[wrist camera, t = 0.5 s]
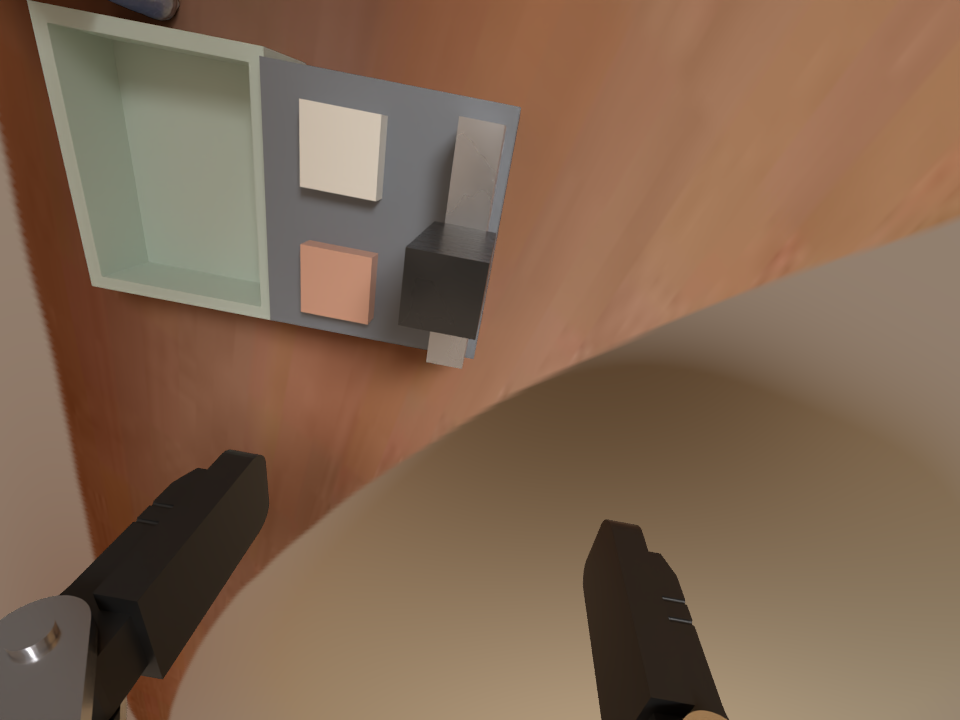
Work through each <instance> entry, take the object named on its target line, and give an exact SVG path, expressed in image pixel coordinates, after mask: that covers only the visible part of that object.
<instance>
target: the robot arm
mask: <svg viewBox="0 0 960 720" xmlns="http://www.w3.org/2000/svg"><path fill="white" fill-rule="evenodd" d="M268 508H269V495H268V483H267V472H266V461H265V458H264V456H262V455H258V454H252V453H247V452H241V451H236V450H227V451H225V452H224V453H222V454H221V455H220V457H219V458H218V459H217V460H216V461H215V462H214V463H213V464H212V465H211V466H210V467H209V468H208V469H207V470H206V469H201V468H197V469H195V470H193V471H191V472H190V473H188V474H186V475H184V476H183V477H181V478H179V479H178V480H176V481H174V482H172V483H171V484H170V485H169V486H168V487H167V488H166V489H165V490H164V491H163V492H162V493H161V494H160V495H159V496H158V497H157V498H156V499H155V500H154V501H153V505H152V506H149V507H148V508H147V509H146V510H145V511H144V512H143V513H142V514H141V515H140V516H139V517H138V518H137V521H136V522H133V523H132V524H131V525H130V526H129V527H128V528H127V529H126V530H125V531H124V532H123V533H122V534H121V535H120V536H119V537H118V538H117V539H116V540H115V541H114V542H113V543H112V544H111V545H110V546H109V547H108V548H107V549H106V550H105V551H104V552H103V553H102V554H101V555H100V556H99V557H98V558H97V559H96V560H95V561H94V562H93V563H92V564H91V565H90V566H89V567H88V568H87V569H86V570H85V571H84V572H83V573H82V574H81V575H80V576H79V577H78V578H77V579H76V580H75V581H74V582H73V583H72V584H71V585H70V586H69V587H68V588H67V589H66V590H65V591H63V592H62V593H61V594H60V595H58V596H52V597H48V598H44V599H40V600H37V601H34V602H32V603H29V604H27V605H25V606H23V607H20V608H19V609H17V610H15V611H13V612H12V613H10V614H8V615H7V616H6V617H4V618H2V619H1V620H0V720H126V719H127V697H126V696H127V694H128V693H129V692H130V690H131V689H132V687H133V686H134V684H135V683H136V682H137V680H138V679H139V677H140V676H141V675H142V676H147V677H153V678H158V679H163V678H164V677H165V675H166V674H167V672H168V671H169V669H170V667H171V666H172V664H173V663H174V661H175V660H176V658H177V657H178V655H179V654H180V652H181V651H182V649H183V648H184V646H185V645H186V643H187V641H188V640H189V638H190V637H191V635H192V634H193V632H194V631H195V629H196V628H197V626H198V625H199V623H200V622H201V620H202V619H203V617H204V615H205V614H206V612H207V611H208V609H209V608H210V606H211V605H212V603H213V602H214V600H215V599H216V597H217V596H218V594H219V593H220V591H221V589H222V588H223V586H224V585H225V583H226V582H227V580H228V579H229V577H230V576H231V574H232V573H233V571H234V570H235V568H236V566H237V565H238V563H239V562H240V560H241V559H242V557H243V556H244V554H245V553H246V551H247V550H248V548H249V547H250V545H251V544H252V542H253V540H254V539H255V537H256V536H257V534H258V533H259V531H260V530H261V528H262V526H263V524H264V522H265V519H266V516H267V513H268ZM583 589H584V597H585V603H586V611H587V619H588V626H589V633H590V640H591V647H592V654H593V662H594V668H595V676H596V683H597V691H598V698H599V705H600V712H601V719H602V720H729V719H728V717H727V715H726V713H725V711H724V708H723V706H722V703H721V700H720V697H719V695H718V692H717V689H716V686H715V683H714V680H713V678H712V675H711V672H710V669H709V666H708V663H707V661H706V658H705V655H704V652H703V649H702V647H701V644H700V641H699V638H698V635H697V632H696V629H695V627H694V626H693V625H692V618H691V615H690V612H689V610H688V607H687V605H685V598H684V595H683V593H682V590H681V587H680V584H679V581H678V579H677V576H676V574H675V573H674V572H673V570H672V569H671V568H670V566H669V565H668V563H667V562H666V561H665V559H664V558H663V557H662V555H661V554H659V553H653V552H648V549H647V546H646V542H645V539H644V536H643V533H642V530H641V528H640V527H639V526H638V525H634V524H628V523H623V522H617V521H612V520H604V521H603V523H602V524H601V527H600V529H599V531H598V534H597V536H596V539H595V541H594V543H593V546H592V548H591V551H590V553H589V555H588V558H587V560H586V563H585V568H584V575H583Z"/></svg>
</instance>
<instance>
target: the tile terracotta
mask: <svg viewBox="0 0 960 720" xmlns="http://www.w3.org/2000/svg"><path fill="white" fill-rule="evenodd" d="M300 262H301V312H305V313H310V314H315V315H320V316H325V317H331V318H336V319H341V320H346V321H351V322H357V323H362V324H367V325H368V324H369V322H370V321H371V320H372V319H373V318H374V306H375V292H376V277H377V263H378V253H374V252H369V251H364V250H359V249H354V248H348V247H343V246H338V245H333V244H328V243H323V242H317V241H312V240H308V241H306V242H304V243H302V244H300Z"/></svg>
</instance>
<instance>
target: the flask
mask: <svg viewBox="0 0 960 720" xmlns="http://www.w3.org/2000/svg"><path fill="white" fill-rule="evenodd" d="M109 1H111V2H113V3H116V4H118V5H120V6H123V7H125V8H128V9H130V10H133V11H135V12H138V13H142V14H144V15H145V16H148V17H151V18H153V19H157V20H169V19H170V18H172V17H173V15H174V14H175V11H176V10H177V8H178V7H179V2H178V0H109ZM170 16H171V17H170ZM166 18H167V19H166Z"/></svg>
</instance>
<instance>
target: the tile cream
mask: <svg viewBox="0 0 960 720" xmlns="http://www.w3.org/2000/svg"><path fill="white" fill-rule="evenodd" d="M387 122H388V116H385V115H381V114H376V113H371V112H366V111H361V110H356V109H350V108H345V107H340V106H335V105H330V104H325V103H320V102H315V101H310V100H305V99H300V98H299V145H300V187H305V188H310V189H315V190H320V191H325V192H330V193H335V194H341V195H346V196H351V197H356V198H361V199H366V200H371V201H378V200H380V199H382V193H383V179H384V165H385V151H386V136H387Z"/></svg>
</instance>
